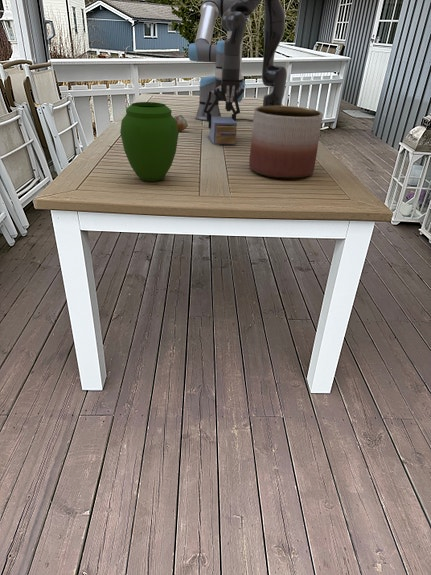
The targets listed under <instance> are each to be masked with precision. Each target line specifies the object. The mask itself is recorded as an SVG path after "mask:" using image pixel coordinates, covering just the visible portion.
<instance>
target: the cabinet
mask: <svg viewBox="0 0 431 575" xmlns="http://www.w3.org/2000/svg"><path fill="white" fill-rule="evenodd" d="M231 117H232V116H221V117H212V116H211V129H209V128H208V129H209V130H208V137H209V139H210V141H211V142H212V144H213V145H217V144H216V125H233V126H238V123H237V121H234V120H233V119H232V118H231Z"/></svg>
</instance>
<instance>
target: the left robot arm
mask: <svg viewBox="0 0 431 575" xmlns="http://www.w3.org/2000/svg"><path fill="white" fill-rule="evenodd" d="M237 1H239V0H203V1H202V3H201V5H200V9H199V10H200V11H199V12H200V19H199V24H198V27H197V31H196V35H195V41H194V42H193V43H189V45H188V50H187V52H188V53H187V54H188V55H187V56H188V59H189V61H190V62H196V63H215V75H213V76H212V75H211V76H203V77H202V78H200V80H199V86H198V87H199V100H198V101H199V103H198V104H199V105H198V107H197V111H196V114H195V119H196V120H199V121H202V122H203V121H204V122H208V129H211V116H212V117H222V114H221V110H220V107H219V105H220V103H219V102H224V101H223V100H222V99H221V97H220V95H219V94H218V92H217V91H216V87H219V86H220V83H221V81H222V64H223V55H224V42H225V40H218V41H217V42H216V44H212V39H213V34H214V30H215V24H216V21H217V19H218V18H219V17H221V18H222V16H223V14H224V13H225V12H226V10H227V9H229V8H230V7H231V6H232V5H233V4H235V3H236V2H237ZM250 17H251V15H249V16H247V17H246V23H247V21H248V19H250ZM226 32H227V33H226V34H227V35H226V39H229V38H230V37H231V34H232V32H228V31H226ZM243 43H244V38H243V39H242V42H241V48H240V74H239V83H240V87H241V88H243V89H244V90H245V88H246V80H245V79H244V76H243V75H242V62H243V61H242V60H243ZM221 90H222V91H221V93H222V94H223V96H224V97H225V98H226V96H225V92H224V91H223V89H222V88H221ZM244 92H245V91H244ZM244 92H243V93H242V94H241V96H240V97H239V98H238V99H237V101H234V102H233V103H234V105H235V107H234V105H233V104H232V110H231V111H232V113H231V116H230V117H231V118H232V119H233V120H234V121H235V122H237V121H248V122H253V120H254V119H249V118H237V115H238V114H240V113H241V109H240V105H239V103H240V102H242V101H243V97H244ZM237 93H238V89H237V91H236V92H235V93H234V97H235V95H236V94H237ZM234 97H233V98H234ZM229 98H230V93H229Z"/></svg>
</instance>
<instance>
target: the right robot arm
mask: <svg viewBox="0 0 431 575" xmlns="http://www.w3.org/2000/svg"><path fill="white" fill-rule="evenodd" d="M262 1H264V2H263V3H264V4H263V5H264V6H263V10H264V15H263V58H262V69H261V70H262V71H261V81H262V84H263V85H264V86H265V87H270V88H273V89H272V91H271V92H270V93H268V94H265V95H264V96H263V100H262V106H283V99H284V96H285V91H286V84H287V80H288V71H287V68H286V67H285V66H284V65H283V66H282V65H276V64H275V55H276V51H277V49H278V48H279V46H280V43H281V42H282V39H283V37H284V34H285V31H286V30H285V29H286V14H285V10H284V7H283V5H282V3H281V0H239V1H237V2H236V3H235V4H233V5H232V6H231V7H230V8H229V9H227V10H226V12H225V13H224V14H223V16H222V17H221V22H220V25H221V28H222V29H223V30H224V31H225V32H227V31H228V32H232V34H231V37H230V38H229V39H227V38H226V39H225V40H224V41H225V42H224V55H223V64H222V81H221V83H220V86H219V87H216V91H217V92H218V94H219V95H220V97H221V99H222V100H223V101H222V102H225V107H224V109H225V111H226V112H231V111H232V105H233V103H235V102H234V101H237V99H238V98H239V97H240V96H241V94H242V93H243V92H245V88H244V89H243V88H241V87H240V83H239V74H240V48H241V42H242V39H243V40H244V36H245V32H246V28H247V22H246V17H247V16H249V15H250V16H251V15H252V14H253V12H254V11H255V10H256V8H257V7H259V5H260V3H261V2H262ZM221 88H222V89H223V91H224V92H225V96H226V98H225V97H224V96H223V94H222V93H221V91H222V90H221ZM237 89H238V93H237V94H236V95H235V97H234V93H235V92H236V91H237ZM229 93H230V98H229ZM243 94H244V93H243ZM233 97H234V98H233Z"/></svg>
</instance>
